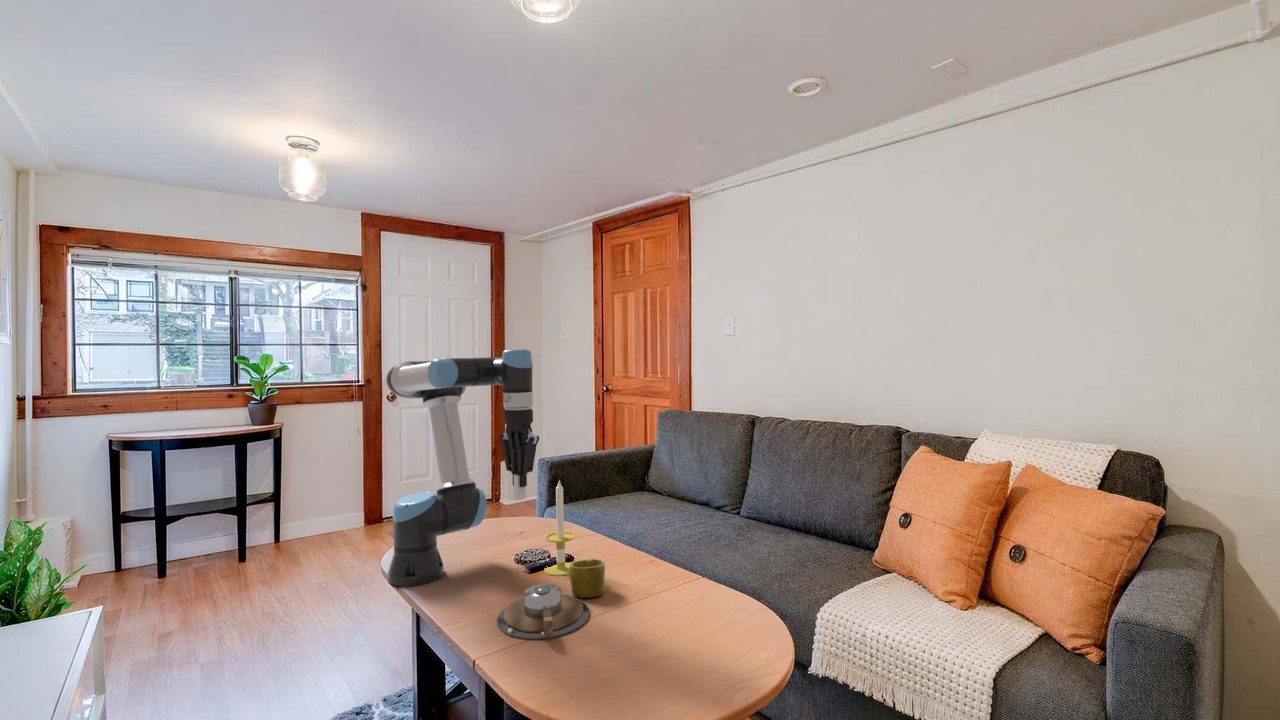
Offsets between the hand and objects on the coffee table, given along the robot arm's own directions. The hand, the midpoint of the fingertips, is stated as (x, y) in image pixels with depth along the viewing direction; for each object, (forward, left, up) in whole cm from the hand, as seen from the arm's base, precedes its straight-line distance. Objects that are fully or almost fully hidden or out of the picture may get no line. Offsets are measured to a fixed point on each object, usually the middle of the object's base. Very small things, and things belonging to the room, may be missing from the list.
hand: (520, 498), depth 149 cm
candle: (-6, +21, -27) cm, 34 cm away
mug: (+11, +14, -27) cm, 32 cm away
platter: (+14, -5, -26) cm, 29 cm away
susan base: (+12, -4, -26) cm, 29 cm away
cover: (+12, -4, -25) cm, 28 cm away
